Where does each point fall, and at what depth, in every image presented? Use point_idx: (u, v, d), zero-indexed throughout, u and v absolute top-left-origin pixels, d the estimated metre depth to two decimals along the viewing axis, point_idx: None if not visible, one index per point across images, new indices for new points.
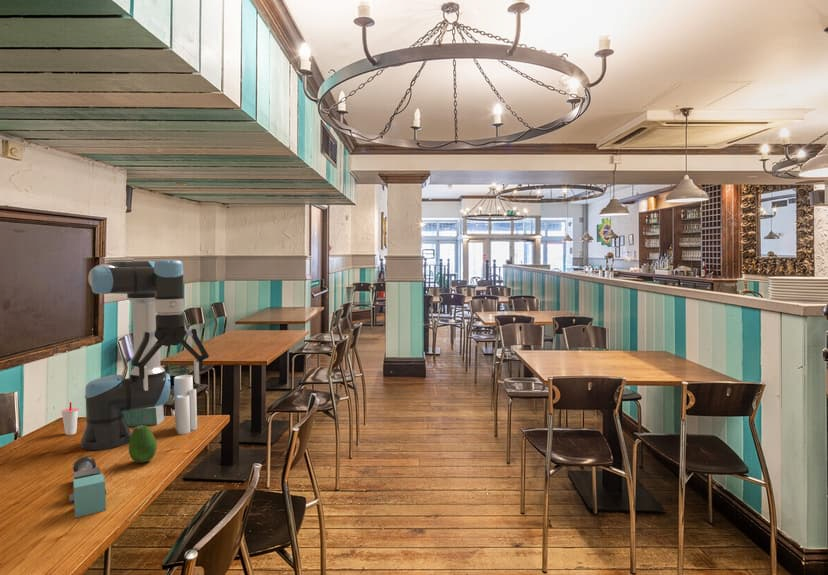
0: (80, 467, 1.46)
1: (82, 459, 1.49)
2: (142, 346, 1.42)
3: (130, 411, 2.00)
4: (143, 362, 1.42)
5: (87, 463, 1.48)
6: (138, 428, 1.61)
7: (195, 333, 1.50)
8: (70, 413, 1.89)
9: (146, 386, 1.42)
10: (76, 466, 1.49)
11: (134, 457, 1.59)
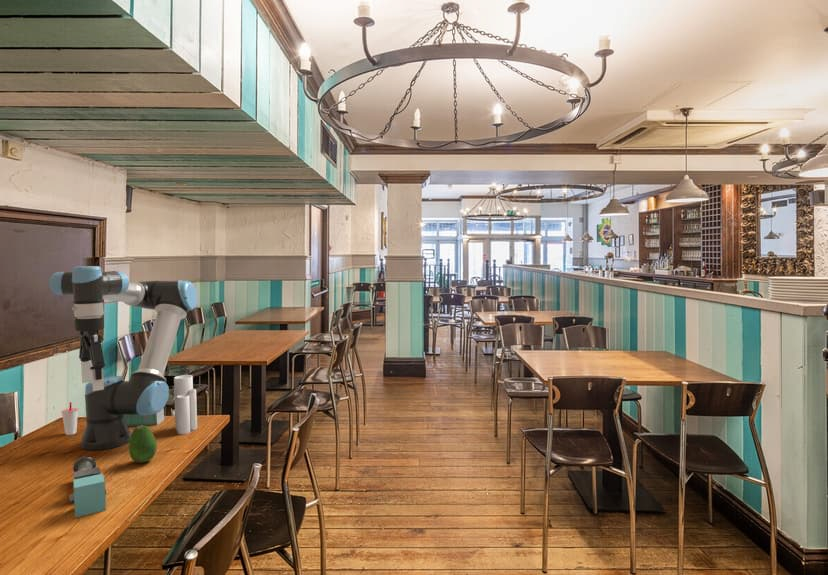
0: (80, 467, 1.46)
1: (82, 459, 1.49)
2: (80, 342, 1.59)
3: None
4: (81, 357, 1.59)
5: (87, 463, 1.48)
6: (138, 428, 1.61)
7: (90, 340, 1.49)
8: (70, 413, 1.89)
9: (82, 379, 1.59)
10: (76, 466, 1.49)
11: (134, 457, 1.59)
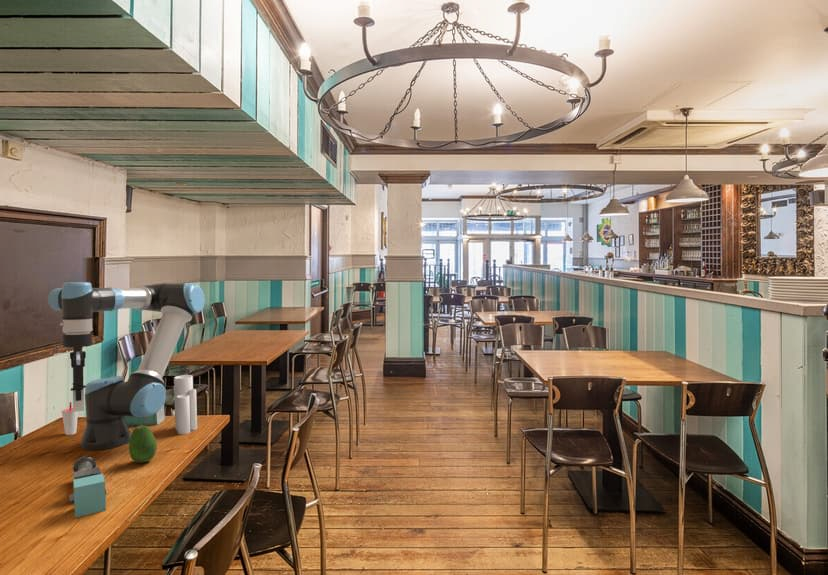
0: (80, 467, 1.46)
1: (82, 459, 1.49)
2: None
3: None
4: None
5: (87, 463, 1.48)
6: (138, 428, 1.61)
7: (73, 363, 1.48)
8: (70, 413, 1.89)
9: (73, 407, 1.53)
10: (76, 466, 1.49)
11: (134, 457, 1.59)
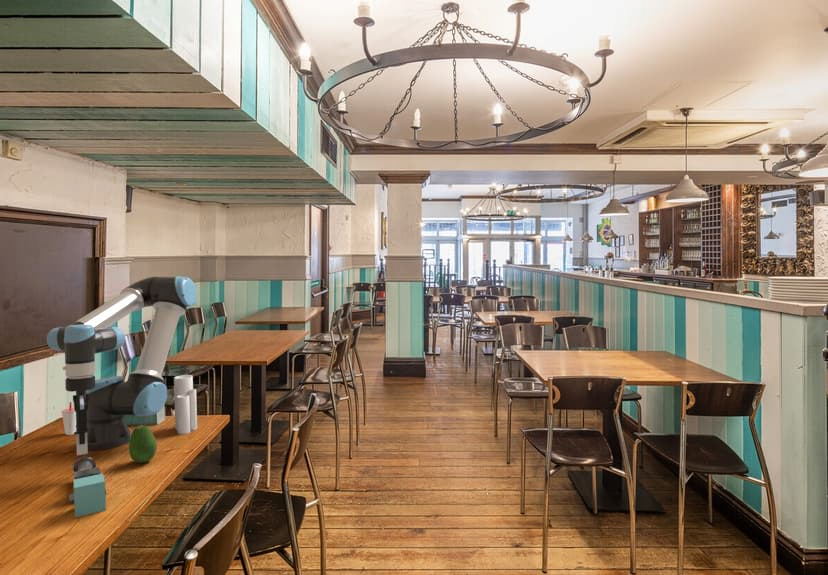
0: (80, 467, 1.46)
1: (82, 459, 1.49)
2: None
3: None
4: (76, 426, 1.54)
5: (87, 463, 1.48)
6: (138, 428, 1.61)
7: (77, 408, 1.48)
8: (70, 413, 1.89)
9: None
10: (76, 466, 1.49)
11: (134, 457, 1.59)
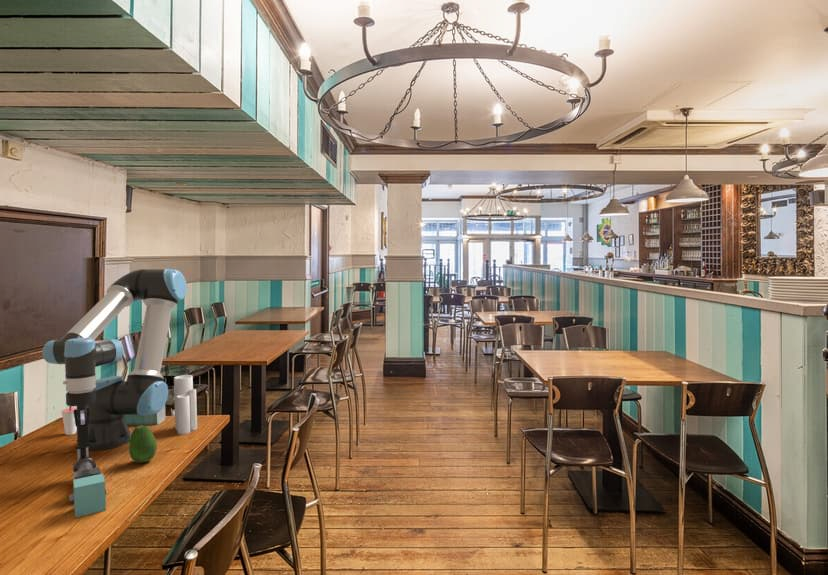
0: (80, 468, 1.46)
1: (82, 460, 1.49)
2: None
3: None
4: (77, 441, 1.52)
5: (87, 464, 1.48)
6: (138, 428, 1.61)
7: (77, 423, 1.46)
8: (70, 413, 1.89)
9: None
10: (76, 467, 1.48)
11: (134, 457, 1.59)
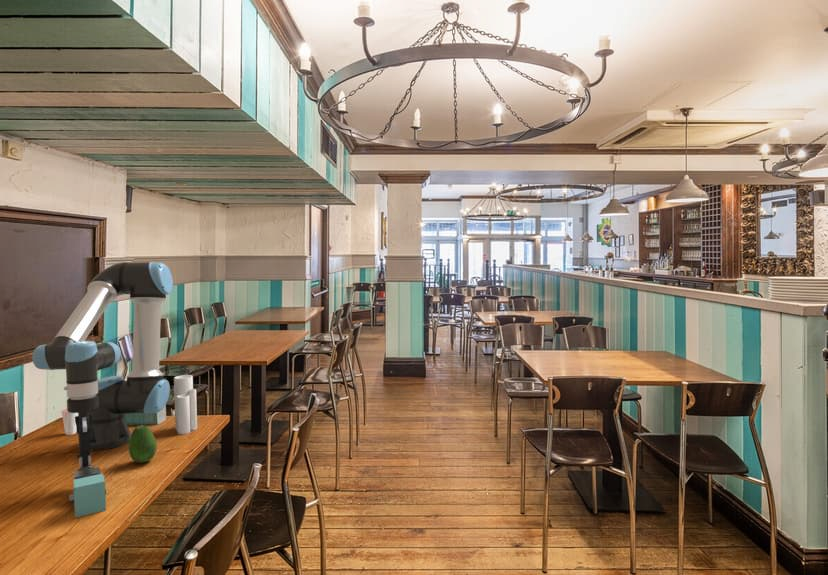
0: None
1: (84, 468, 1.43)
2: None
3: None
4: (79, 449, 1.46)
5: None
6: (138, 428, 1.61)
7: (79, 430, 1.40)
8: (70, 413, 1.89)
9: None
10: None
11: (134, 457, 1.59)
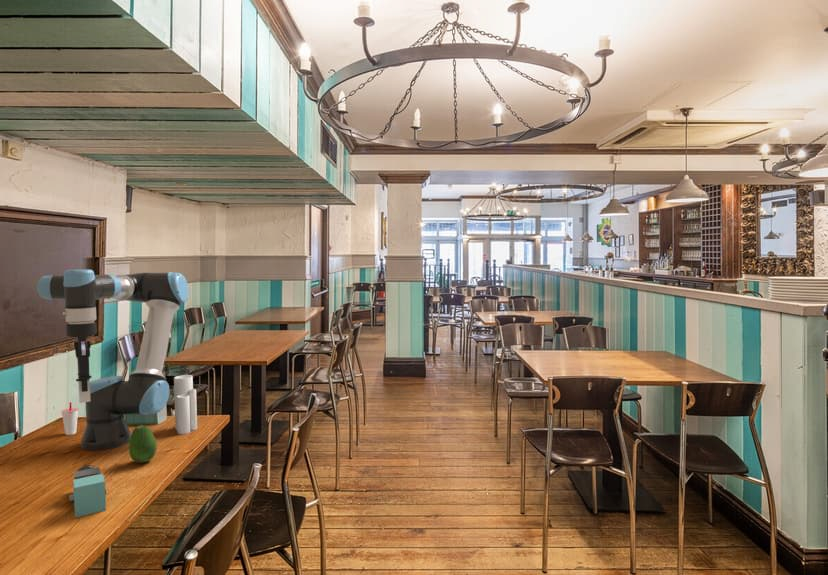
0: None
1: (84, 468, 1.43)
2: None
3: None
4: (78, 374, 1.50)
5: None
6: (138, 428, 1.61)
7: (78, 353, 1.44)
8: (70, 413, 1.89)
9: (79, 398, 1.49)
10: None
11: (134, 457, 1.59)
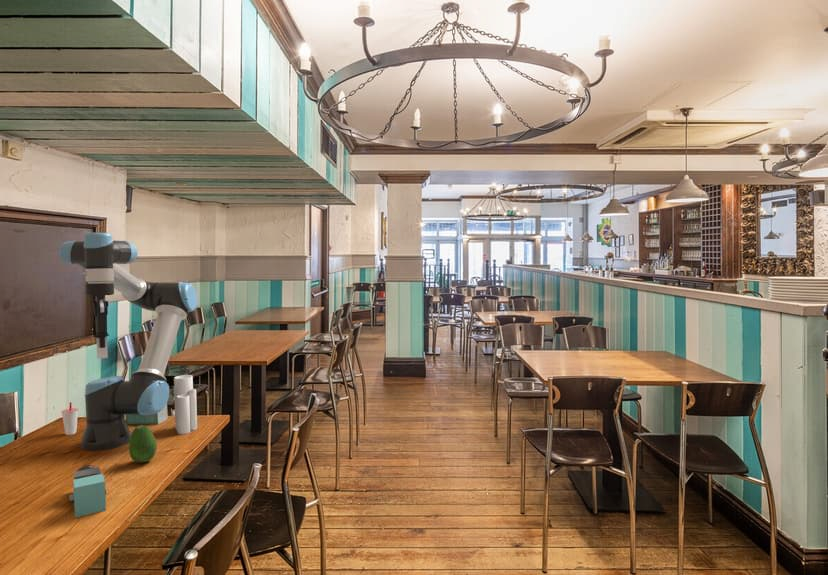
0: None
1: (84, 468, 1.43)
2: (95, 316, 1.61)
3: None
4: (96, 332, 1.59)
5: None
6: (138, 428, 1.61)
7: (97, 310, 1.53)
8: (70, 413, 1.89)
9: (97, 354, 1.58)
10: None
11: (134, 457, 1.59)
